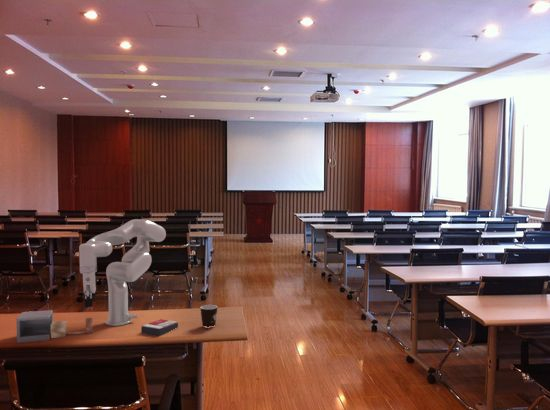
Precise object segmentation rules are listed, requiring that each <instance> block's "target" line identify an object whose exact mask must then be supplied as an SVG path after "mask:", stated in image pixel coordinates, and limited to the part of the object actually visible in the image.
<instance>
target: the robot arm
mask: <svg viewBox="0 0 550 410" xmlns="http://www.w3.org/2000/svg"><path fill="white" fill-rule="evenodd" d="M166 232H167V231H166V229H165V228H164V227H163V226H161V225H160V224H157V223H155V222H154V221H151V220H148V219H142V218H141V219H140V218H139V219H138V218H135V219H131V220H129V221H127V222H125V223H124V224H123V225H121V226H119V227H117V228H116V229H112V230H110V231H105V232H103V233H100V234H97V235H94V237H91V238H90V239H89V240H88V241H86V242H85V243H81V244H80V245H79V246H78V249H79V273H80V274H82V285H83V294H84V295H85V296H84V297H85V298H84V307H85V308H92V307H93V305H94V304H93V302H94V301H95V293H96V290H97V284H96V273H97V271H98V265H97V264H98V263H97V261H98V260H97V258H103V257H105V258H106V257H108V256H110V254H111V253H112V252H113V246H118V245H122V244H125V243H127V242H129V241H130V240H131V239H133V238H135V237H137V238H136V243H135V245H134V246H133V247H132V248H131V249H129V250H128V251H127V252H126V253H125V254H124V255H123V256H122V258H121V261H115V262H114V261H113V262H111V263H109V264H108V266H107V267H106V270H105V271H106V272H105V275H106V279H107V286H108V287H107V288H108V319H106V320H105V325H106V326H112V327H113V326H114V327H118V326H124V325H128V324H130V323H131V322H132V319H137V318H138V314H135V313H129V291H128V290H129V289H128V285H127V283H133V282H136V281H137V280H138V279H139V278H140V277H141V276H143V274H145V272H146V271H148V270H149V268H150V266H151V264H152V262H153V261H152V255H151V254H150V251H151V250H150V242H151V243H152V242H156V243H161V242H163V241H164V240H165V239H166V236H167V233H166Z"/></svg>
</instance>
